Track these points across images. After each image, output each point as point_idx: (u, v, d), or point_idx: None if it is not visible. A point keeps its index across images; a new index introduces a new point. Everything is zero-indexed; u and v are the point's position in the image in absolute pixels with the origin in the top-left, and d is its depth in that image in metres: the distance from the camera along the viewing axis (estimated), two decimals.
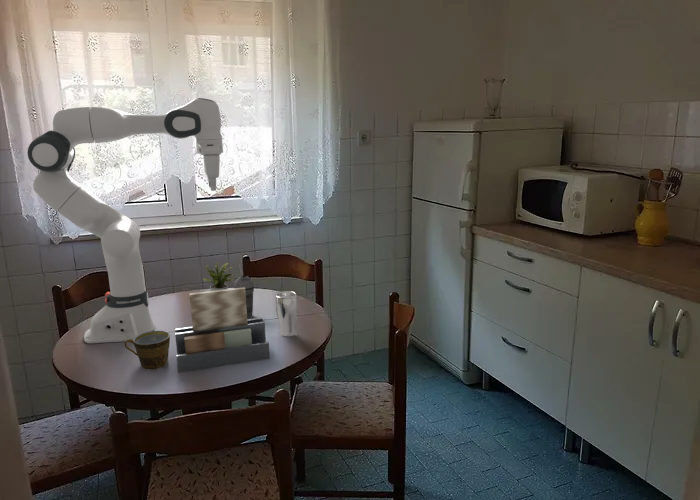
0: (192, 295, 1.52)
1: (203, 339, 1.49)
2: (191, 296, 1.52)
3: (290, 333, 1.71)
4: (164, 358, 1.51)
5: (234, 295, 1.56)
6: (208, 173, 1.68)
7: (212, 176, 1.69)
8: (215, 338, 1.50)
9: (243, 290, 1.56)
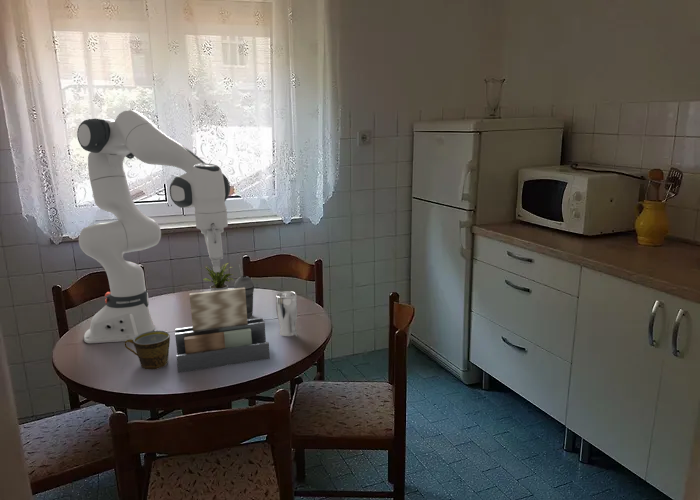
0: (192, 295, 1.52)
1: (203, 339, 1.49)
2: (191, 296, 1.52)
3: (290, 333, 1.71)
4: (164, 358, 1.51)
5: (234, 295, 1.56)
6: None
7: None
8: (215, 338, 1.50)
9: (243, 290, 1.56)
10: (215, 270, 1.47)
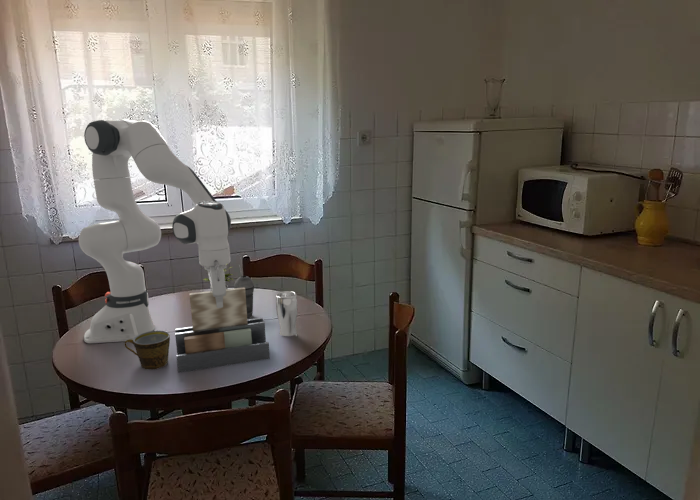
0: (192, 295, 1.52)
1: (203, 339, 1.49)
2: (191, 296, 1.52)
3: (290, 333, 1.71)
4: (164, 358, 1.51)
5: (234, 295, 1.56)
6: None
7: None
8: (215, 338, 1.50)
9: (243, 290, 1.56)
10: (218, 306, 1.50)
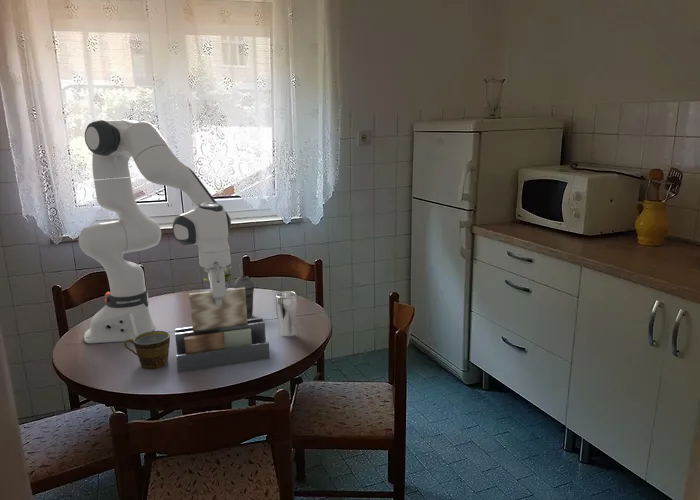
0: (192, 295, 1.52)
1: (203, 339, 1.49)
2: (191, 296, 1.52)
3: (290, 333, 1.71)
4: (164, 358, 1.51)
5: (234, 295, 1.56)
6: None
7: None
8: (215, 338, 1.50)
9: (243, 290, 1.56)
10: (217, 304, 1.53)
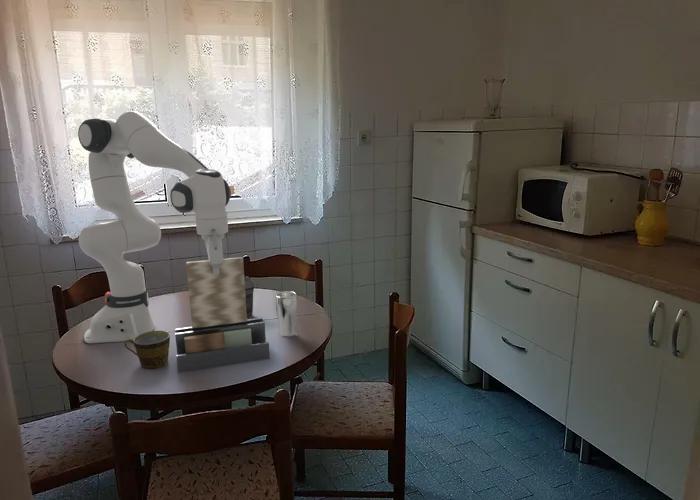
0: (189, 263, 1.49)
1: (203, 339, 1.49)
2: (188, 264, 1.49)
3: (290, 333, 1.71)
4: (164, 358, 1.51)
5: (231, 264, 1.53)
6: None
7: None
8: (215, 338, 1.50)
9: (241, 259, 1.54)
10: (214, 273, 1.51)
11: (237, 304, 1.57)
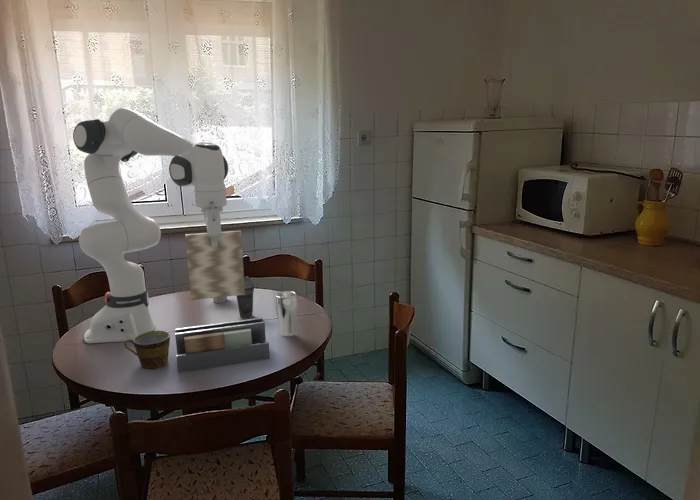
0: (188, 236, 1.52)
1: (203, 339, 1.49)
2: (187, 237, 1.52)
3: (290, 333, 1.71)
4: (164, 358, 1.51)
5: (230, 237, 1.55)
6: None
7: None
8: (215, 338, 1.50)
9: (239, 233, 1.56)
10: (213, 245, 1.53)
11: (235, 277, 1.59)
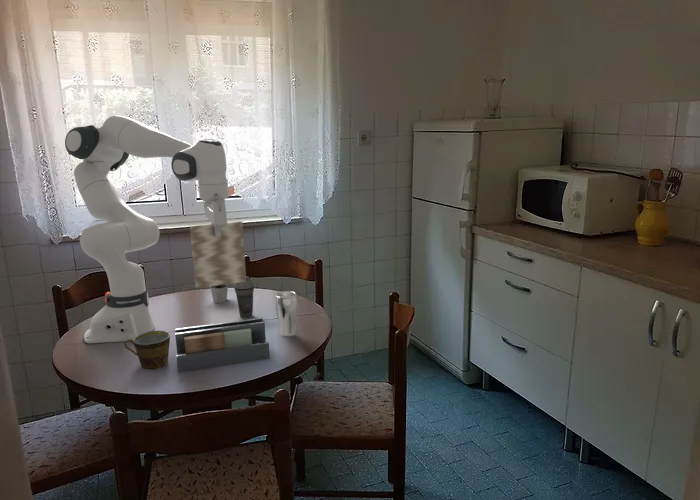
0: (193, 227, 1.61)
1: (203, 339, 1.49)
2: (192, 228, 1.61)
3: (290, 333, 1.71)
4: (164, 358, 1.51)
5: (232, 228, 1.66)
6: None
7: None
8: (215, 338, 1.50)
9: (240, 223, 1.67)
10: (217, 235, 1.63)
11: (237, 265, 1.69)
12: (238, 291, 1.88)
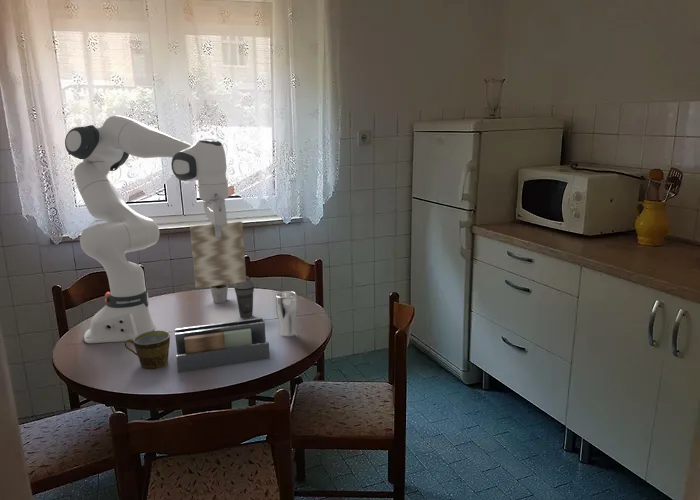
0: (193, 227, 1.61)
1: (203, 339, 1.49)
2: (192, 228, 1.61)
3: (290, 333, 1.71)
4: (164, 358, 1.51)
5: (232, 228, 1.66)
6: None
7: None
8: (215, 338, 1.50)
9: (240, 223, 1.67)
10: (217, 235, 1.63)
11: (237, 265, 1.69)
12: (238, 291, 1.88)
